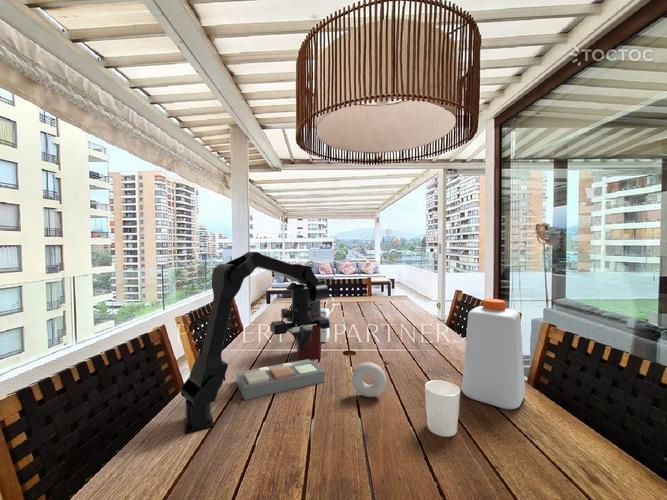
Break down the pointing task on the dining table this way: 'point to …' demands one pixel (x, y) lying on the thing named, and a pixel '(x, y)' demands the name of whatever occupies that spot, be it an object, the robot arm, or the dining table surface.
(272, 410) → the dining table surface
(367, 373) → the donut
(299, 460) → the dining table surface
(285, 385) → the keypad
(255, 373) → the ivory key
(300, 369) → the sage key
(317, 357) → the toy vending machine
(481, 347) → the plastic bottle
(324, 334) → the syrup box
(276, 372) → the terracotta key
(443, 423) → the white cup
